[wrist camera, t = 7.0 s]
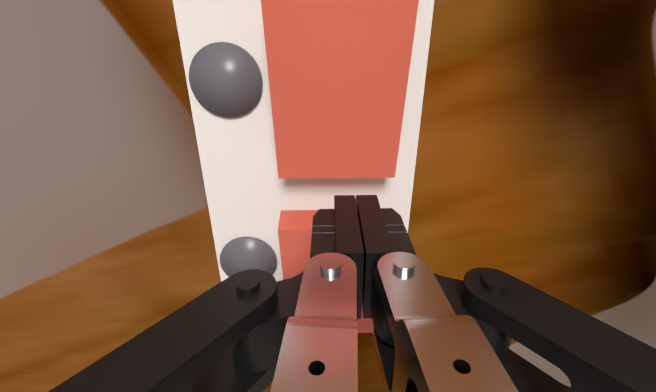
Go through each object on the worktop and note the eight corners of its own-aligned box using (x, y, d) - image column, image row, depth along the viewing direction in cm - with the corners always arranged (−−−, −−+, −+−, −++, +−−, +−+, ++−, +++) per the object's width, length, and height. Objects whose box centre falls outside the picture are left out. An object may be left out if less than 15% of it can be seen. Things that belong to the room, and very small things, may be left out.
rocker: (392, 209, 19) (397, 228, 17) (377, 311, 24) (381, 332, 23) (280, 210, 19) (277, 230, 17) (291, 312, 24) (289, 333, 23)
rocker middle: (413, -33, 14) (423, -30, 13) (389, 161, 19) (394, 177, 18) (263, -33, 14) (257, -31, 13) (281, 162, 19) (278, 178, 18)
